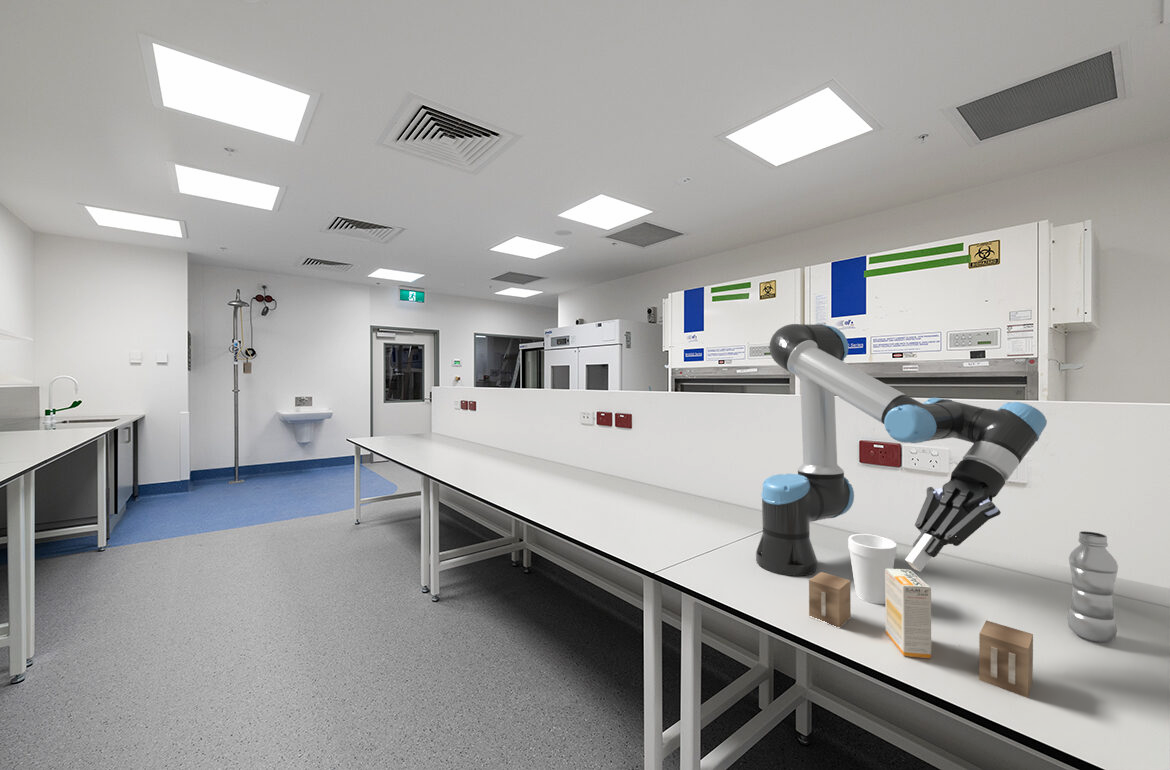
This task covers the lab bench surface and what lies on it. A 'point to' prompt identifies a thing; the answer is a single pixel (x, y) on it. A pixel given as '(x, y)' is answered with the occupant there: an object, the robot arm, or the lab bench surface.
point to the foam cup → (871, 565)
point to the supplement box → (908, 612)
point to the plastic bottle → (1092, 588)
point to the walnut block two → (1006, 658)
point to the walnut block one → (829, 599)
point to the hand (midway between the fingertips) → (912, 565)
